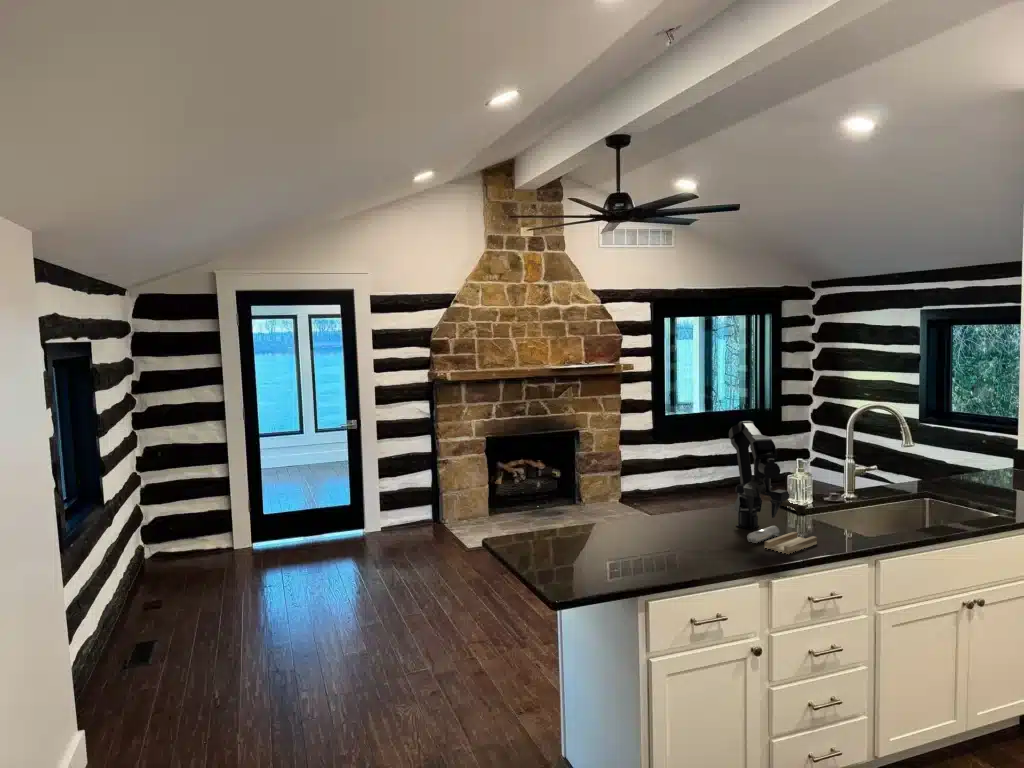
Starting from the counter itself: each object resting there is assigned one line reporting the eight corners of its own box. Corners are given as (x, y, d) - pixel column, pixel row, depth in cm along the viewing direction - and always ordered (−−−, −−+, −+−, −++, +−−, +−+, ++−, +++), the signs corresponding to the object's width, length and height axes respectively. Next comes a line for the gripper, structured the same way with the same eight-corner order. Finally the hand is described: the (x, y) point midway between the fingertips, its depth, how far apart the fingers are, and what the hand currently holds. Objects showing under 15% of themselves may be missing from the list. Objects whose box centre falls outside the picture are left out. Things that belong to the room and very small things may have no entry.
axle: (755, 546, 260) (758, 536, 258) (745, 540, 263) (749, 530, 261) (777, 538, 268) (780, 529, 267) (768, 532, 271) (771, 523, 270)
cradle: (764, 548, 254) (764, 541, 254) (793, 538, 265) (793, 531, 265) (787, 554, 247) (788, 547, 247) (816, 543, 258) (816, 537, 258)
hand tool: (805, 514, 298) (805, 503, 298) (796, 515, 297) (796, 503, 297) (781, 503, 317) (781, 493, 316) (772, 504, 316) (772, 493, 316)
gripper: (726, 472, 266) (726, 514, 267) (772, 480, 251) (772, 524, 252) (744, 467, 273) (744, 508, 274) (790, 475, 258) (790, 518, 259)
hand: (761, 515), depth 265 cm, fingers open, 9 cm apart
